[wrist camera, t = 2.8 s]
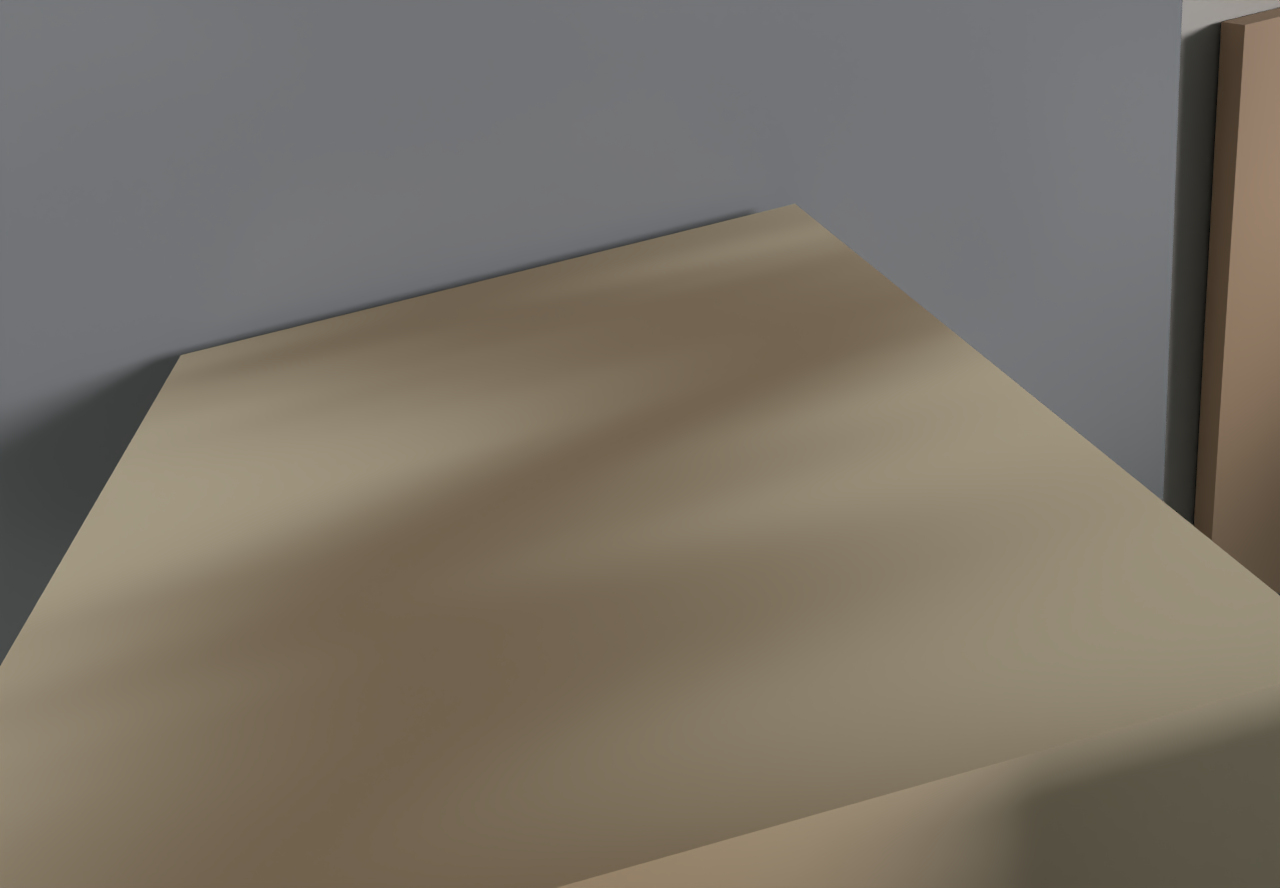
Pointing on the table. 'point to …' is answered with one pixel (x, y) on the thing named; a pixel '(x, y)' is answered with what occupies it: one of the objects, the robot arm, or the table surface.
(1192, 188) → the table surface
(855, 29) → the tile
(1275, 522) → the pad
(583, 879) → the birch block
